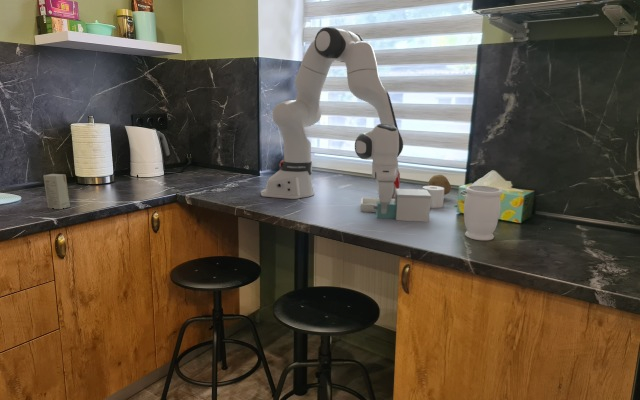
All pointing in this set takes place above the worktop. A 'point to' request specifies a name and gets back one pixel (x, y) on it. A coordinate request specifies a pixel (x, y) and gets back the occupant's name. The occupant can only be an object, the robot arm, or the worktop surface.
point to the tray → (369, 204)
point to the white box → (412, 204)
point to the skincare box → (56, 191)
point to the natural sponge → (440, 183)
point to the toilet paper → (435, 196)
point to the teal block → (390, 210)
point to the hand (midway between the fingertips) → (383, 210)
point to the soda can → (396, 185)
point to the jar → (481, 211)
